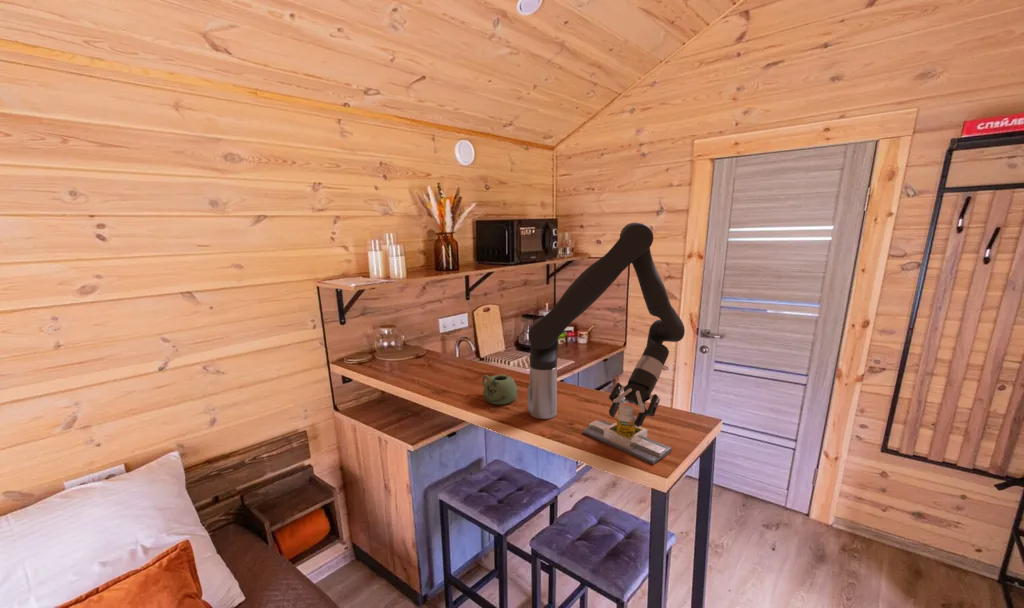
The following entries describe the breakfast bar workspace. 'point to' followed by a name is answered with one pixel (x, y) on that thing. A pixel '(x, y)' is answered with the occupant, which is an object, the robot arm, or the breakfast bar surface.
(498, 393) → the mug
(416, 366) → the breakfast bar surface
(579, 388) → the breakfast bar surface
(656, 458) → the rail collar
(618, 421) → the supplement bottle
